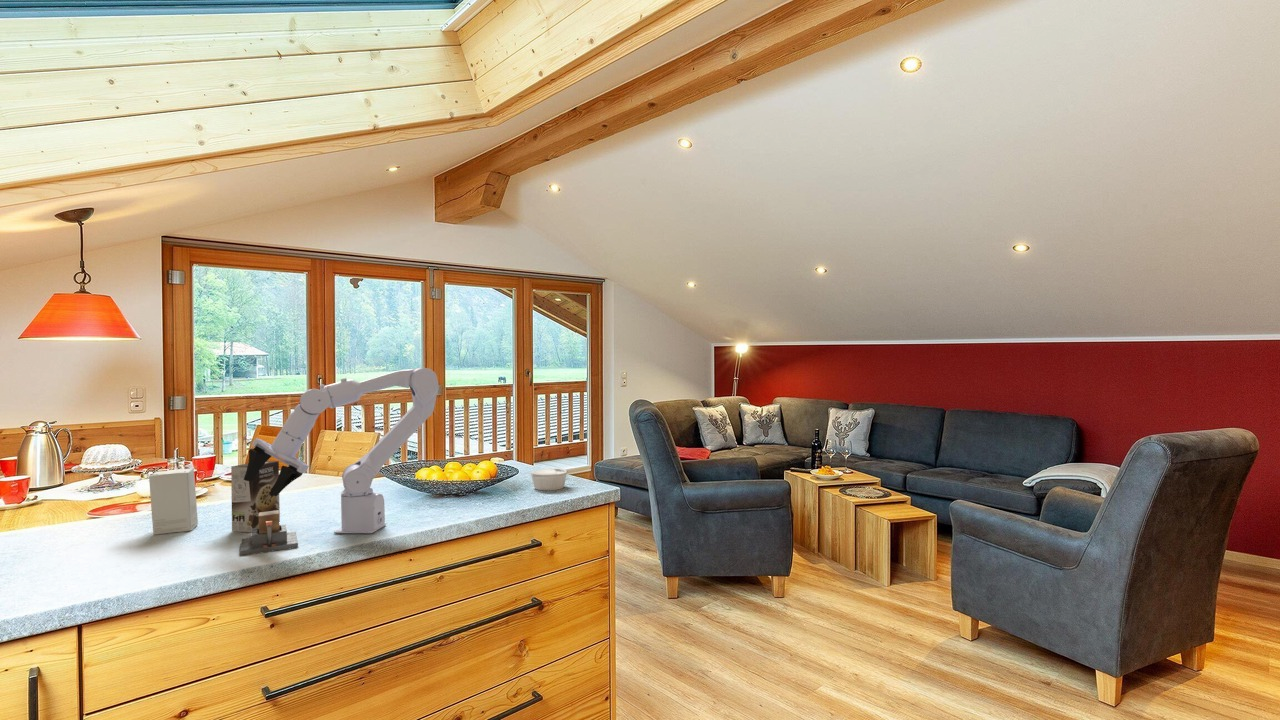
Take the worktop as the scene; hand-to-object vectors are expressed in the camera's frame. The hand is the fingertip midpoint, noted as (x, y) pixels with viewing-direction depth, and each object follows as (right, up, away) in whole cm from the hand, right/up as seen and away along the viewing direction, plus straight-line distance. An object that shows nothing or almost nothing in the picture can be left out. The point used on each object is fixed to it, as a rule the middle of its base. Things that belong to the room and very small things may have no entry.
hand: (260, 487), depth 150 cm
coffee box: (-8, -13, +13) cm, 20 cm away
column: (+4, -11, -3) cm, 12 cm away
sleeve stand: (+4, -12, -3) cm, 13 cm away
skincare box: (-27, -13, +11) cm, 32 cm away
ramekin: (+59, -11, +56) cm, 82 cm away
